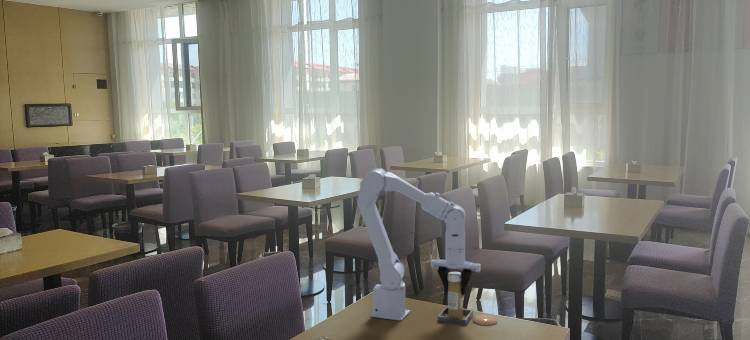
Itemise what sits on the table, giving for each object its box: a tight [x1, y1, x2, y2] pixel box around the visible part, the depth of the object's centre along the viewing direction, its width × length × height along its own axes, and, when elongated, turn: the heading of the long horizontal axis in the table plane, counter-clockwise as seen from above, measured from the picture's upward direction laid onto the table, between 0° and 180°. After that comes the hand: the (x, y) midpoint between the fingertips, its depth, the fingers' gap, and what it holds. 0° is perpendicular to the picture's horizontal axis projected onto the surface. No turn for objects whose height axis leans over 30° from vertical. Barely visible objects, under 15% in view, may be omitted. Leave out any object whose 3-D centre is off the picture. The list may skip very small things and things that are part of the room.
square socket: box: [437, 306, 474, 326], centre depth 169 cm, size 8×8×2 cm
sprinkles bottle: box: [447, 271, 464, 319], centre depth 168 cm, size 5×5×14 cm
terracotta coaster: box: [472, 314, 498, 326], centre depth 166 cm, size 7×7×1 cm
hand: (455, 293), depth 168 cm, fingers closed on sprinkles bottle, 4 cm apart
